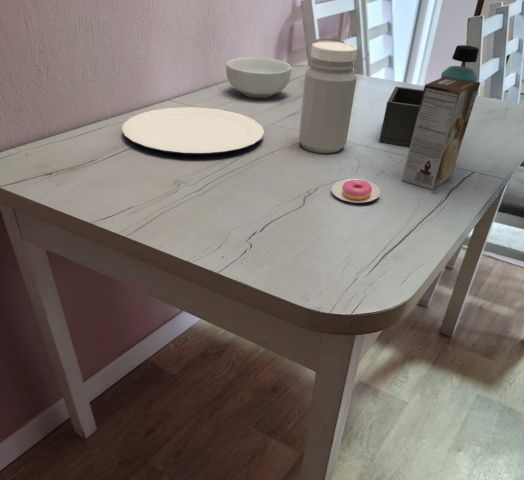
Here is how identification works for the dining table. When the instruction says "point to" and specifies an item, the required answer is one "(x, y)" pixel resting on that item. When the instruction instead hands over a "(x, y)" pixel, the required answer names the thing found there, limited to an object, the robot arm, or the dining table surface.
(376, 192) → the donut
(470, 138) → the dining table surface
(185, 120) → the plate
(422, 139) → the coffee box
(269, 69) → the cereal bowl
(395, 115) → the basket
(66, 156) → the dining table surface
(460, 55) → the teal pump bottle
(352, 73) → the jar
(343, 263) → the dining table surface
